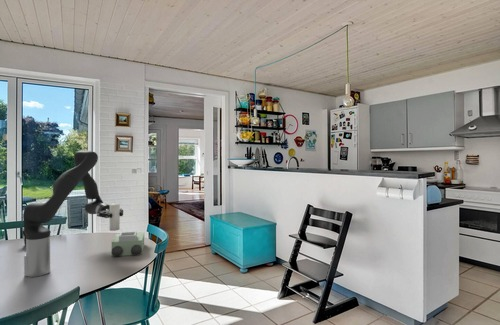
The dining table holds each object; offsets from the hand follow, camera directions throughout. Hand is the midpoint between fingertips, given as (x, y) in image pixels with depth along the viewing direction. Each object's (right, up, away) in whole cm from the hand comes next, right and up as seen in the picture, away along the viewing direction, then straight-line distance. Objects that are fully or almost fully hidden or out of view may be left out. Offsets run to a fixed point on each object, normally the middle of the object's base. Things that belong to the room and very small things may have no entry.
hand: (116, 215), depth 160 cm
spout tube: (-2, -8, +2) cm, 9 cm away
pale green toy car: (0, -24, +15) cm, 28 cm away
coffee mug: (-63, -23, +24) cm, 71 cm away
